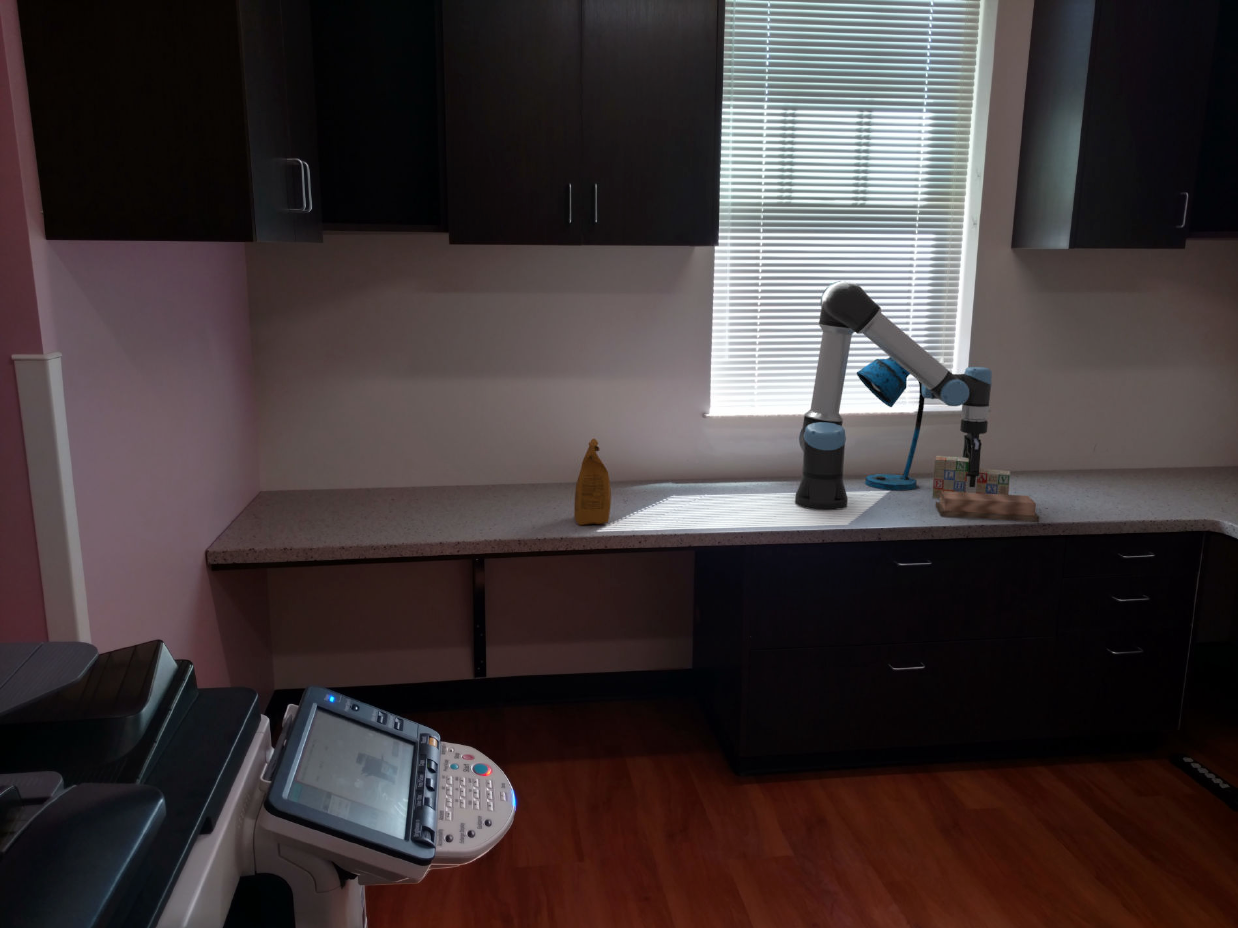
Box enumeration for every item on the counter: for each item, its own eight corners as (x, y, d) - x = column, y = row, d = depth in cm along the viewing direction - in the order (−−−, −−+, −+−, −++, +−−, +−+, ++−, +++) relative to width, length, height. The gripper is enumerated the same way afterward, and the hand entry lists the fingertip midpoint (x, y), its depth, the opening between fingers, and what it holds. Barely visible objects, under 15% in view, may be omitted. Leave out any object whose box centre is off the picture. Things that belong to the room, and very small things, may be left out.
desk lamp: (843, 479, 309) (852, 342, 300) (908, 479, 310) (919, 343, 301) (858, 490, 293) (868, 346, 284) (927, 490, 294) (938, 347, 285)
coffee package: (610, 514, 261) (611, 437, 256) (610, 526, 248) (611, 445, 244) (575, 514, 260) (575, 437, 256) (573, 526, 248) (573, 445, 244)
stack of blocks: (1007, 501, 282) (1011, 461, 279) (1006, 505, 276) (1010, 465, 273) (933, 493, 290) (937, 454, 288) (931, 497, 285) (934, 458, 282)
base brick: (941, 516, 263) (942, 499, 262) (935, 506, 274) (936, 490, 273) (1038, 521, 258) (1040, 504, 257) (1029, 511, 269) (1030, 495, 268)
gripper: (994, 425, 268) (987, 502, 273) (981, 414, 287) (974, 487, 292) (967, 424, 269) (960, 501, 274) (955, 413, 289) (949, 486, 293)
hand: (968, 493), depth 283 cm, fingers closed on stack of blocks, 7 cm apart
